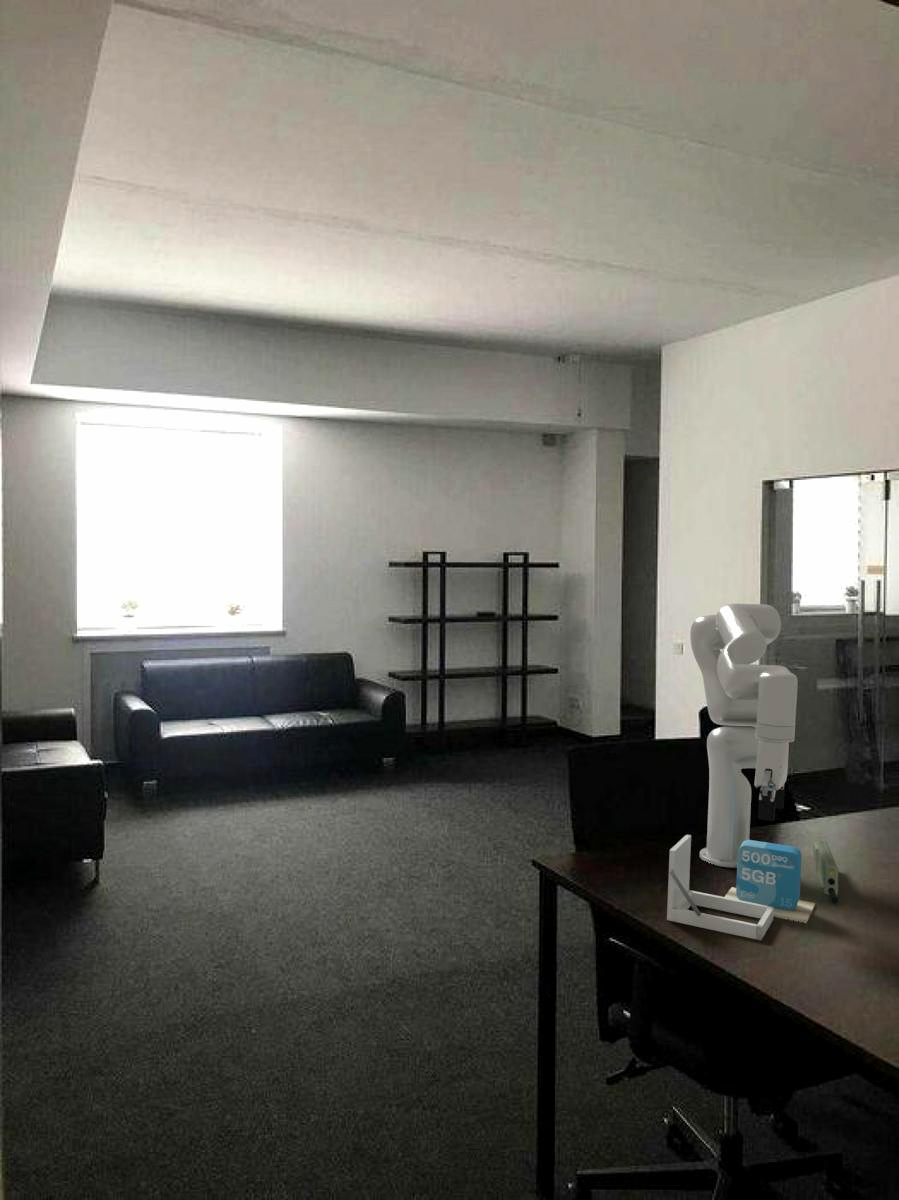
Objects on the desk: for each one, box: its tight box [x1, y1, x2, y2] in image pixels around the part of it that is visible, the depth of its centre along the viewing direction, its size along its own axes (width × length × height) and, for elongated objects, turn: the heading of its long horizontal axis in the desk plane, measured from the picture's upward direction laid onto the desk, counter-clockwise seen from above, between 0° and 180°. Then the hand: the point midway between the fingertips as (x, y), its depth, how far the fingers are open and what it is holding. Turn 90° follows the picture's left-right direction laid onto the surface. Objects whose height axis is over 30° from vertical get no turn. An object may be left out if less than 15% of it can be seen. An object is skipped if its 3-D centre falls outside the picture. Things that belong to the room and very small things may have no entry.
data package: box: [735, 839, 802, 910], centre depth 198 cm, size 12×4×12 cm, turn 64°
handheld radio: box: [813, 839, 839, 903], centre depth 212 cm, size 7×3×25 cm
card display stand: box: [666, 834, 774, 941], centre depth 189 cm, size 13×18×14 cm
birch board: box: [724, 886, 816, 924], centre depth 198 cm, size 11×17×1 cm, turn 61°
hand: (770, 813), depth 198 cm, fingers open, 9 cm apart
